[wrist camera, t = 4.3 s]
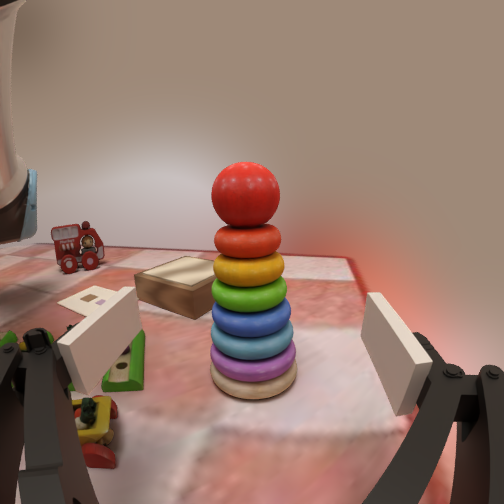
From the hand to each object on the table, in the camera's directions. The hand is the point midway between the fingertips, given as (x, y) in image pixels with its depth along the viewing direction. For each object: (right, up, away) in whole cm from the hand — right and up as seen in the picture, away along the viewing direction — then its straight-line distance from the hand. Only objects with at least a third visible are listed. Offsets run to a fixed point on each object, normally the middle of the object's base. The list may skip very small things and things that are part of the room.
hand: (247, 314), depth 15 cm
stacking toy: (0, -8, +10) cm, 13 cm away
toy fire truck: (-39, 0, +41) cm, 57 cm away
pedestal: (-9, -3, +29) cm, 30 cm away
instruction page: (-24, -4, +25) cm, 35 cm away
